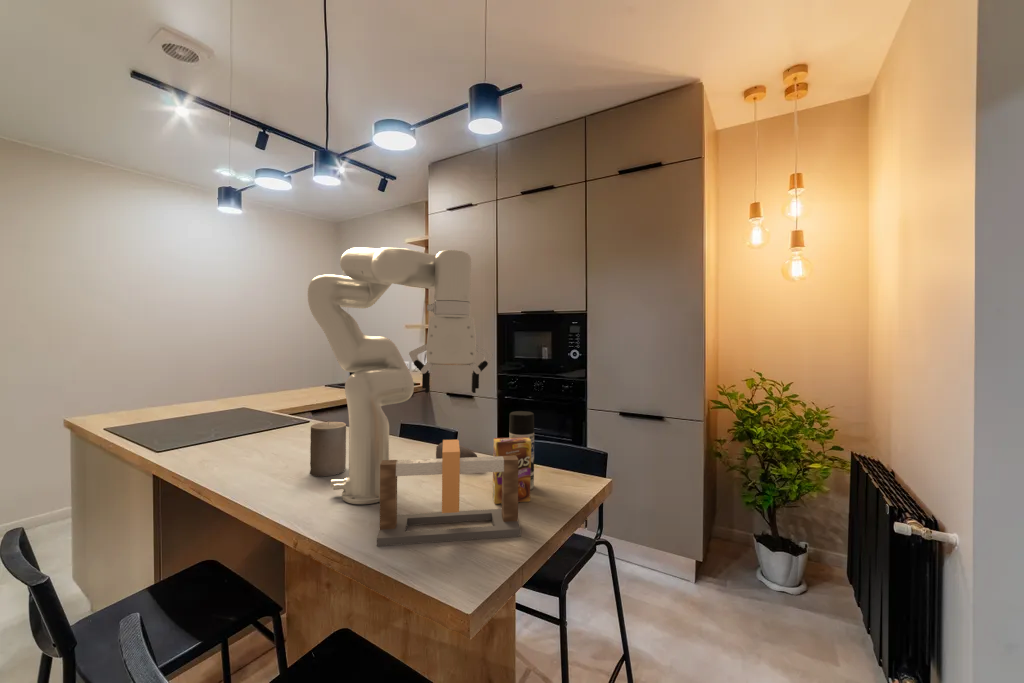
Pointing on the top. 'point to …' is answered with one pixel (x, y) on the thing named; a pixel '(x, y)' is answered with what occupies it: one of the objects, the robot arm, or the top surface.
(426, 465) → the crossbar rack
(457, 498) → the orange angular block
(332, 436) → the pillar candle
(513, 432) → the spray can
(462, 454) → the perforated stone tool
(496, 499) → the candy box
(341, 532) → the top surface
